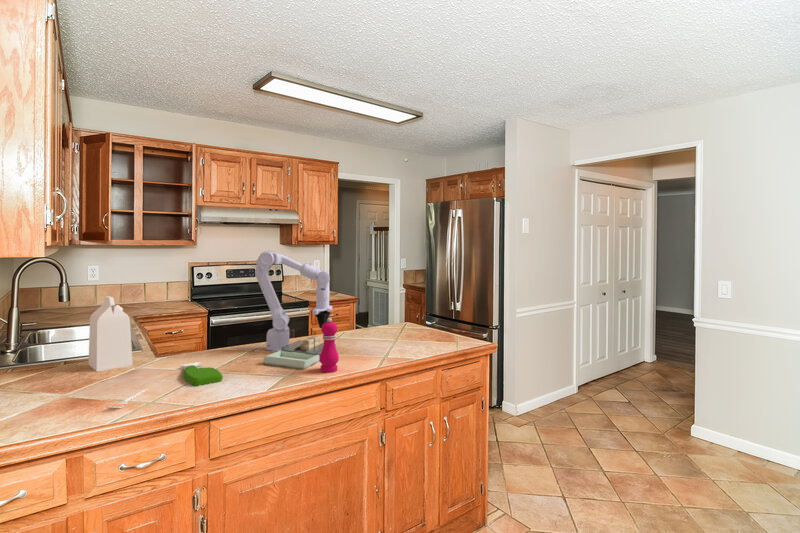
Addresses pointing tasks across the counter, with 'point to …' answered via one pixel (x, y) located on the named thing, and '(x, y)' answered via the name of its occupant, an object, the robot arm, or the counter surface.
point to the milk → (109, 337)
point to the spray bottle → (200, 374)
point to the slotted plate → (297, 348)
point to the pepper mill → (329, 347)
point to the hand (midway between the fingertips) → (322, 328)
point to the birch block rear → (315, 340)
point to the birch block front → (307, 343)
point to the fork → (127, 399)
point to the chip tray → (291, 359)
